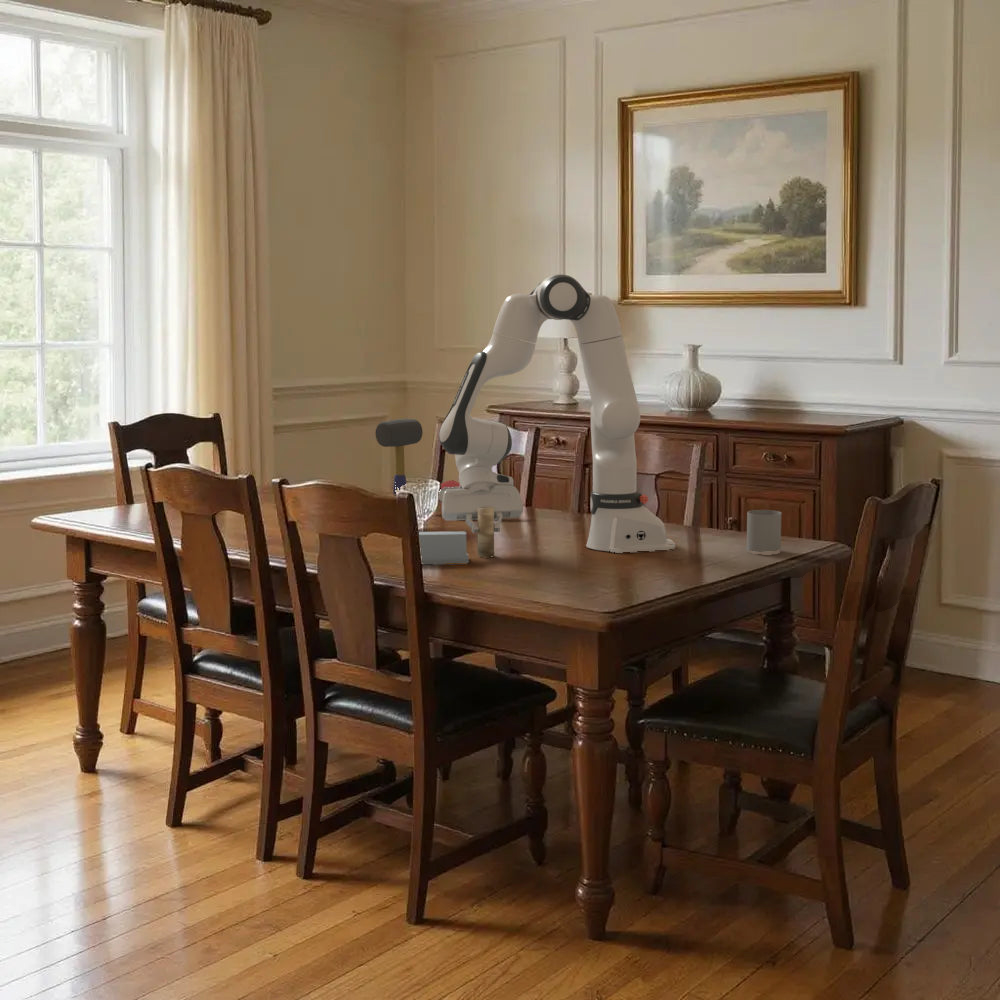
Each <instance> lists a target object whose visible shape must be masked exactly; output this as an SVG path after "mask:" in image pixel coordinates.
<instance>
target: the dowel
mask: <svg viewBox="0 0 1000 1000" xmlns="http://www.w3.org/2000/svg"><path fill="white" fill-rule="evenodd" d="M494 523H495V519H494V508H493V507H479V508H478V519H477V524H478V527H479V531H478V533H477V557H478V556H480V557H479V558H481V557H491V556H494V557H495V532H494ZM491 558H492V557H491Z"/></svg>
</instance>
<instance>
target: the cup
mask: <svg viewBox="0 0 1000 1000" xmlns="http://www.w3.org/2000/svg"><path fill="white" fill-rule="evenodd" d="M746 516H747V517H746V519H747V520H746V551H747V550H749V551H756V552H757V551H758V552H762V551H763V552H764V551H777V550H779V549H780V550H781V544H782V543H781V541H782V537H781V536H782V511H780V510H779V511H778V510H769V509H754V510H753V509H752V510H748V511H747V514H746Z"/></svg>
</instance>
